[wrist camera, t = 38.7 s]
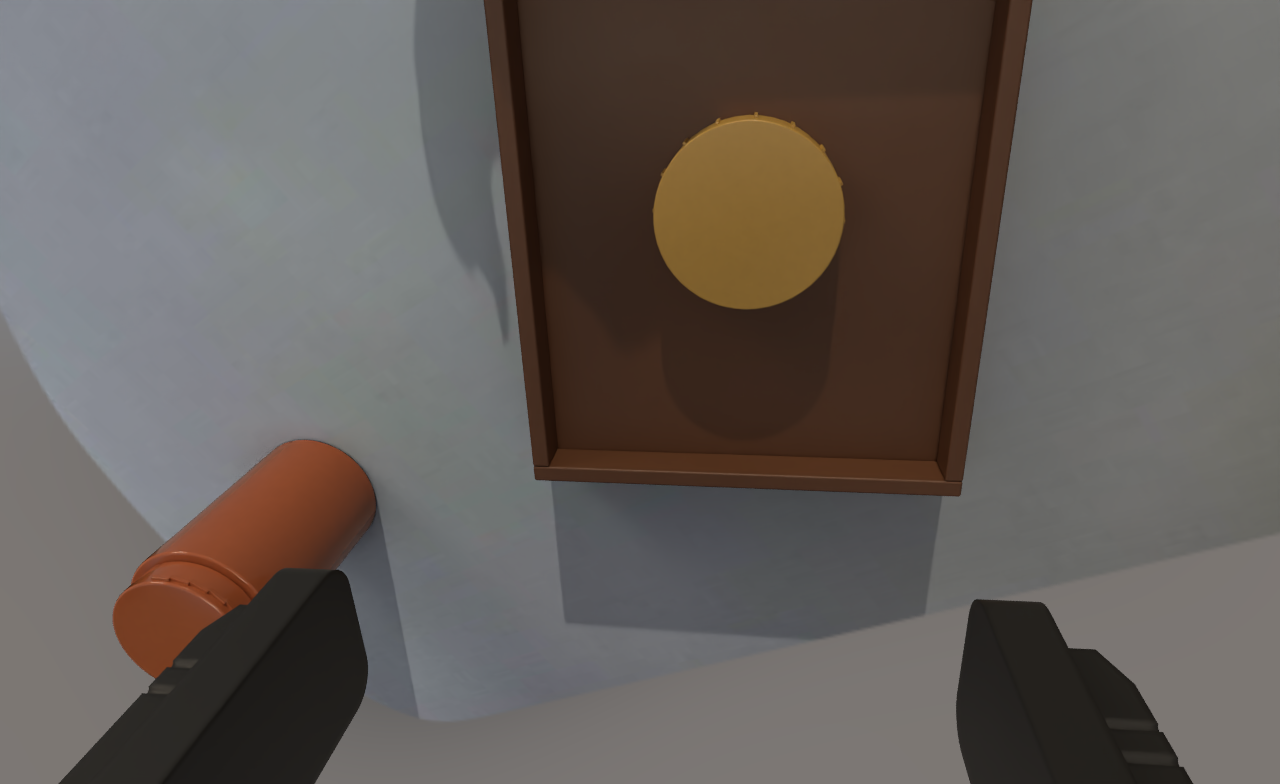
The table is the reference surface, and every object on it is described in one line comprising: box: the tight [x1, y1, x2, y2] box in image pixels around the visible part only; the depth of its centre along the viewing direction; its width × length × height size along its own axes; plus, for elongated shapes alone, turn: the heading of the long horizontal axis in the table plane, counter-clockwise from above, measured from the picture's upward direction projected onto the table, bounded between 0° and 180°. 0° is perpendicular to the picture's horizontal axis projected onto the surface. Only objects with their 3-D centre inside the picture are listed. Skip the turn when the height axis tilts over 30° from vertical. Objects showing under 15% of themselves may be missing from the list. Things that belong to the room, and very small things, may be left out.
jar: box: [113, 440, 376, 679], centre depth 30 cm, size 5×5×9 cm
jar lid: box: [652, 112, 846, 310], centre depth 25 cm, size 6×6×2 cm
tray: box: [484, 0, 1032, 496], centre depth 26 cm, size 19×15×2 cm
